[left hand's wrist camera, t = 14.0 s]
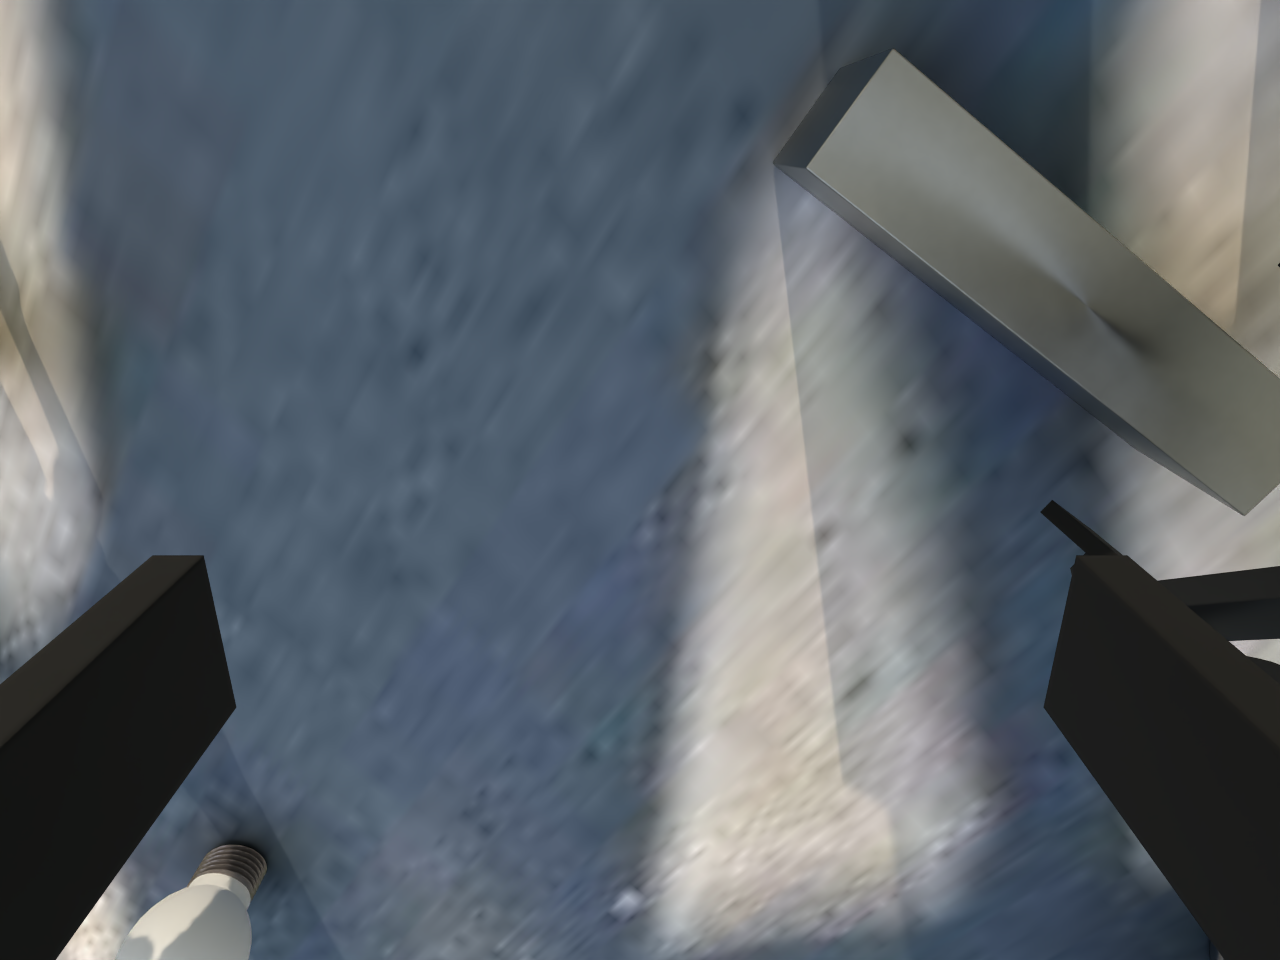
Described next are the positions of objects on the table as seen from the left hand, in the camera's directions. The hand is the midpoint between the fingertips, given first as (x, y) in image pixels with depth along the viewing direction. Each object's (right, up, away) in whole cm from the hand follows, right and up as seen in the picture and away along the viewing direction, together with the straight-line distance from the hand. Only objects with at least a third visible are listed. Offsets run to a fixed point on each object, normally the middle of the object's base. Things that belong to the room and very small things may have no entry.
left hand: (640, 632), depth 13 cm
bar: (+17, +12, +27) cm, 35 cm away
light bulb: (-26, -22, +41) cm, 54 cm away
